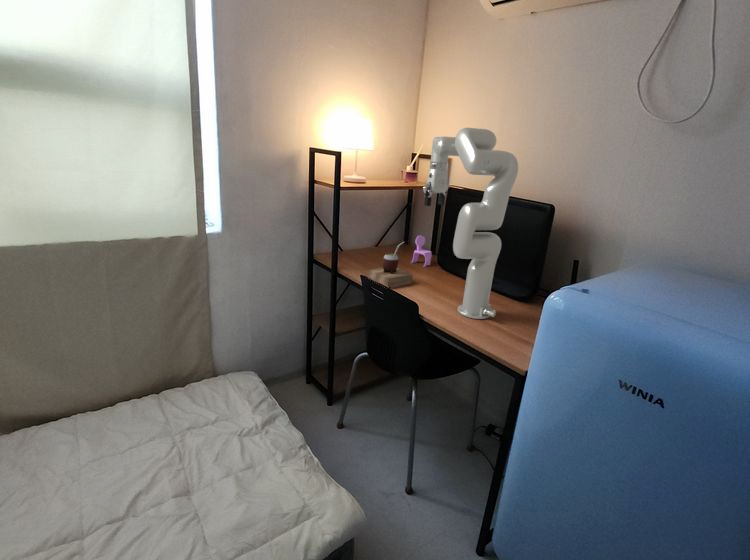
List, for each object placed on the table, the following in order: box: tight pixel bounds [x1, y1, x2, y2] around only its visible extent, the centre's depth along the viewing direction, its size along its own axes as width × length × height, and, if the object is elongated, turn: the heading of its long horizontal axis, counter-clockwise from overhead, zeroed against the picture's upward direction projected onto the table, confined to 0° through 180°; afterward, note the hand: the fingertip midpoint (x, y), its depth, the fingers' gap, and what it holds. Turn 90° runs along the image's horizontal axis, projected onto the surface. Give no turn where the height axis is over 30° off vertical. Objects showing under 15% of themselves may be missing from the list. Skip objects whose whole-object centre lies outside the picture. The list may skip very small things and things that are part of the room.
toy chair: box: [410, 234, 433, 268], centre depth 215 cm, size 8×9×15 cm
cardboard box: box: [368, 267, 413, 289], centre depth 186 cm, size 14×14×5 cm
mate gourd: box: [382, 241, 405, 274], centre depth 183 cm, size 8×8×15 cm
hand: (434, 205), depth 187 cm, fingers open, 9 cm apart
